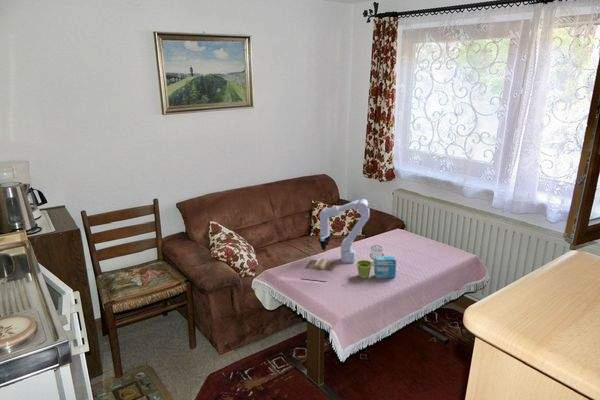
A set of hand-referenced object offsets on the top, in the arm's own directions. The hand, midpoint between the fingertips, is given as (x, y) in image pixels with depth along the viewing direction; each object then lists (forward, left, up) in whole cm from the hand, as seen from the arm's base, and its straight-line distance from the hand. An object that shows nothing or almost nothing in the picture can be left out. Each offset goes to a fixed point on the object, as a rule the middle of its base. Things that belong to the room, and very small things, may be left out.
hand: (325, 247), depth 270 cm
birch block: (0, +11, -8) cm, 13 cm away
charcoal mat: (0, +23, -9) cm, 25 cm away
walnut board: (0, +11, -9) cm, 14 cm away
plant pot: (-28, +17, -10) cm, 34 cm away
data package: (-40, +14, -10) cm, 43 cm away
